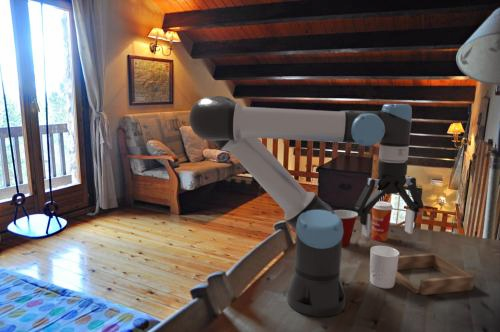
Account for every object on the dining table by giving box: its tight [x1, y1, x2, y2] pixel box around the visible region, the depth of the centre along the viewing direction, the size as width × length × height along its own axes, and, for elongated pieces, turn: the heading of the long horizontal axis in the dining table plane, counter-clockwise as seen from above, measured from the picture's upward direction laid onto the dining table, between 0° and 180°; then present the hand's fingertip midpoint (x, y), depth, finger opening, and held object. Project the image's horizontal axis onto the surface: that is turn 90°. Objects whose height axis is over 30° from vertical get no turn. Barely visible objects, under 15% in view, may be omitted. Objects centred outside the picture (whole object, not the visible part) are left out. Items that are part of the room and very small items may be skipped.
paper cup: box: [371, 200, 394, 242], centre depth 143 cm, size 8×8×14 cm
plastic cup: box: [333, 209, 359, 247], centre depth 138 cm, size 11×11×12 cm
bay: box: [395, 252, 475, 296], centre depth 113 cm, size 18×16×4 cm
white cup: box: [369, 245, 400, 289], centre depth 109 cm, size 8×8×10 cm
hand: (387, 233), depth 107 cm, fingers open, 13 cm apart
